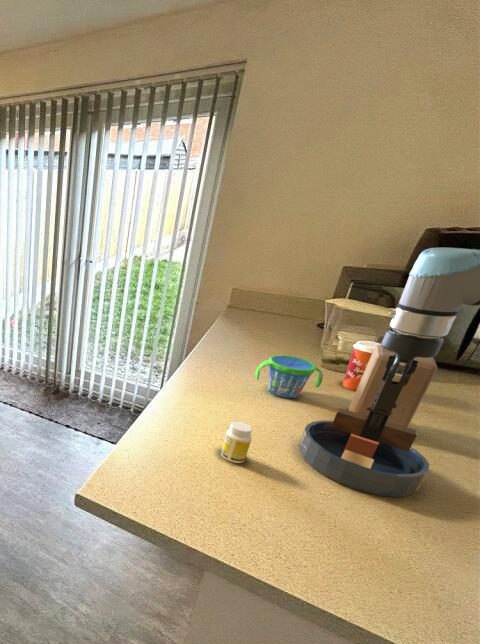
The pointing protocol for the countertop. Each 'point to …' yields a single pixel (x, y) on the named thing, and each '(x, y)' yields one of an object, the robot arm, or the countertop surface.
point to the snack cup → (288, 375)
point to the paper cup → (358, 363)
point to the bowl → (382, 479)
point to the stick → (389, 435)
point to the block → (408, 394)
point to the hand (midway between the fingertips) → (369, 435)
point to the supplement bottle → (237, 442)
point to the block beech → (357, 459)
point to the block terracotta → (361, 446)
